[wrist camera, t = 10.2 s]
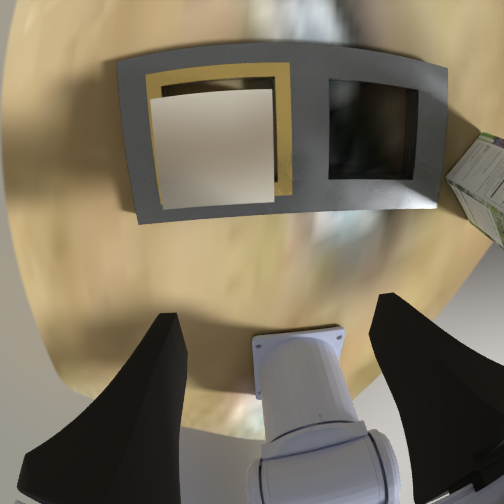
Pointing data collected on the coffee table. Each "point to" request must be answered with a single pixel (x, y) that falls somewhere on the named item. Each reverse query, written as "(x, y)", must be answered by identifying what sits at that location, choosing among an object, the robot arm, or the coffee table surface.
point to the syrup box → (482, 185)
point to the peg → (214, 148)
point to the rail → (292, 125)
